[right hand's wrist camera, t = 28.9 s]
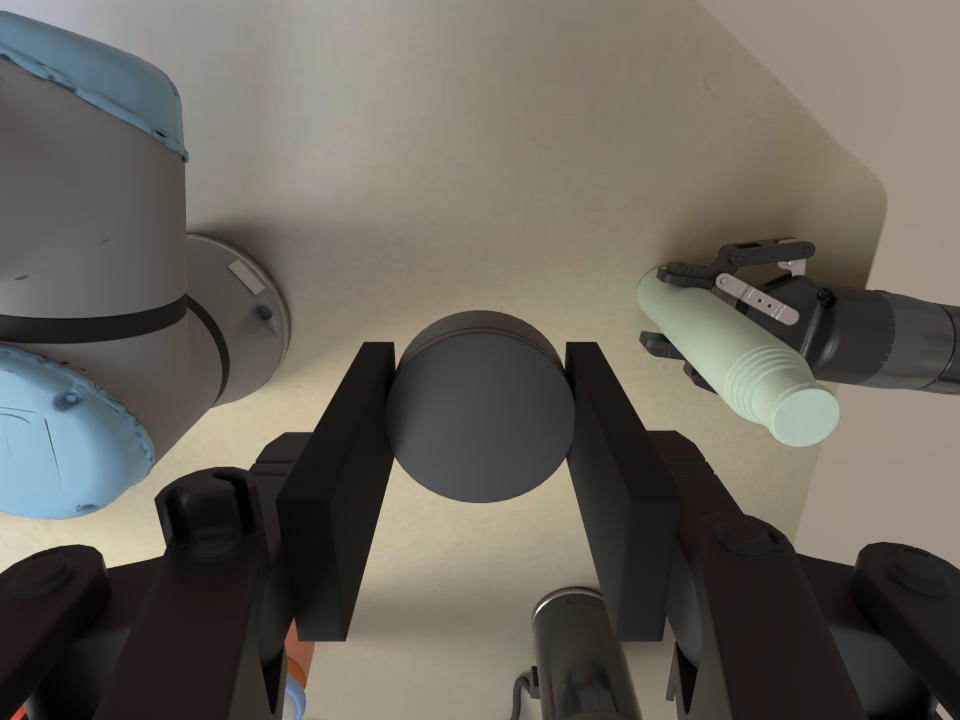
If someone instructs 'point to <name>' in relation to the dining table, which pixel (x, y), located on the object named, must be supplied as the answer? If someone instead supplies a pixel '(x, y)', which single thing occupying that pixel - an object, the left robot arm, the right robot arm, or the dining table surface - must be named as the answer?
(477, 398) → the cap
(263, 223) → the dining table surface
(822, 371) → the left robot arm
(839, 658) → the right robot arm
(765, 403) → the bottle
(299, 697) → the cup with straw
